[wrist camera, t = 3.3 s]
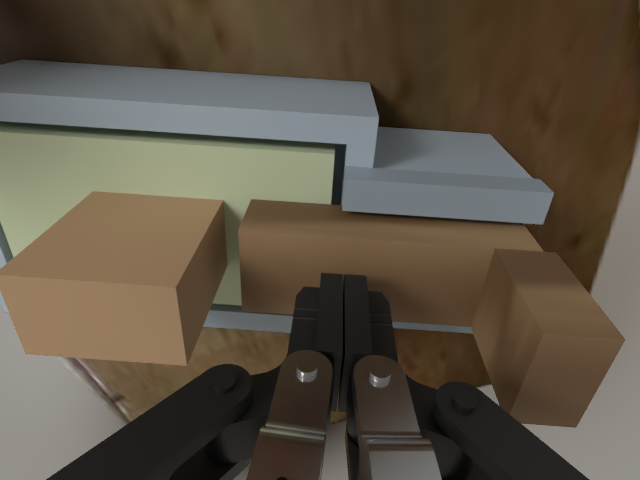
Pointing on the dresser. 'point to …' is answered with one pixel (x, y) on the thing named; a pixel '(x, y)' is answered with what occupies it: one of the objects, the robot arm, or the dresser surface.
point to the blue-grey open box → (286, 124)
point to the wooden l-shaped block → (446, 292)
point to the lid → (134, 232)
